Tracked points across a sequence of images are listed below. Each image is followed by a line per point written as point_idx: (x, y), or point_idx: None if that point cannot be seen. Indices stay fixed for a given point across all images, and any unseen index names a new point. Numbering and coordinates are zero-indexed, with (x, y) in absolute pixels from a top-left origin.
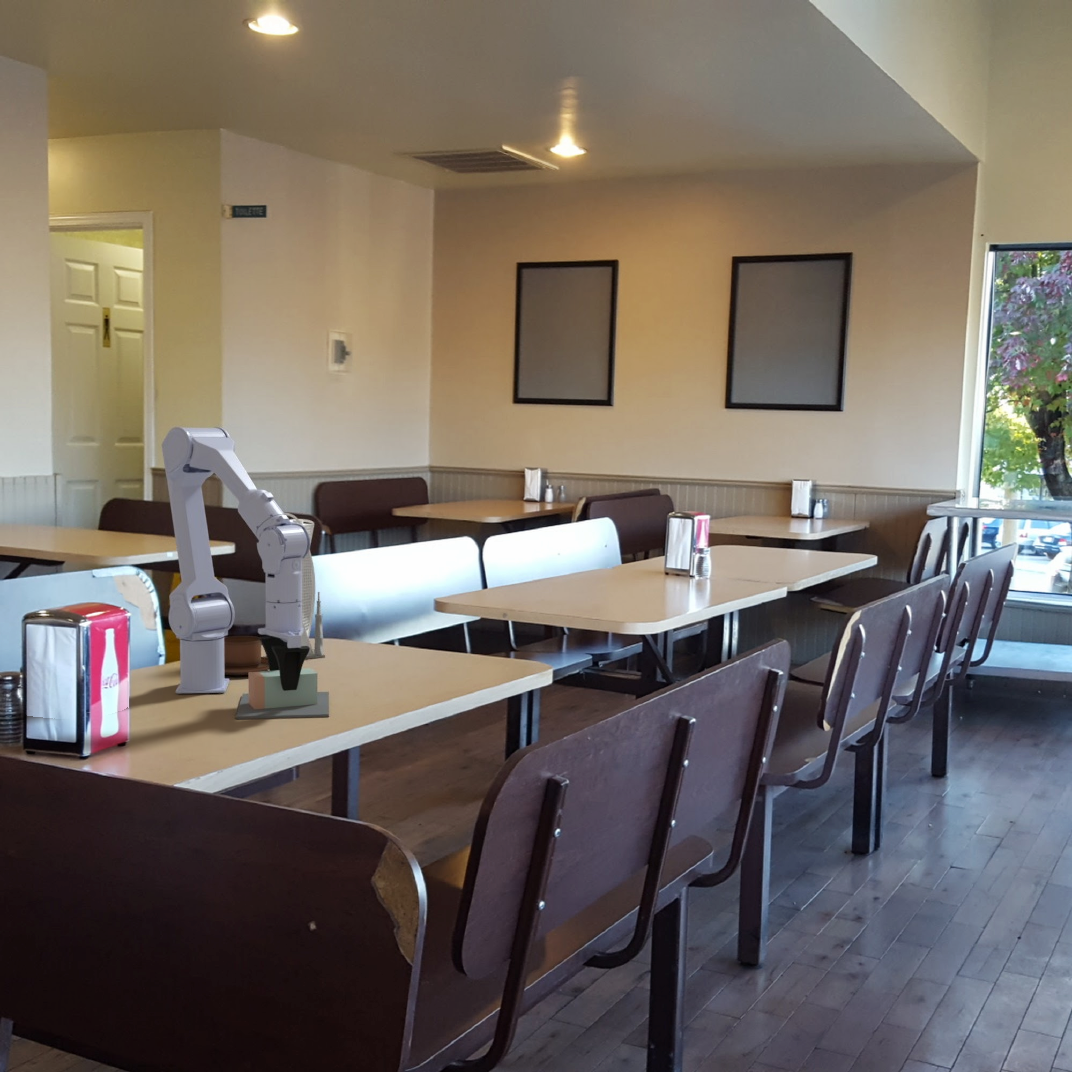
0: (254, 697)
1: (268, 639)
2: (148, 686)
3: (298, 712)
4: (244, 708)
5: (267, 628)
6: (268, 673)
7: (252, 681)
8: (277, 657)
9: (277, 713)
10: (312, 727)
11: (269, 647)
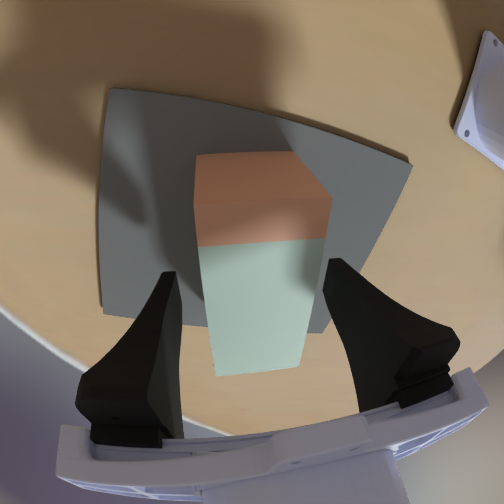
0: (196, 169)
1: (405, 370)
2: None
3: (126, 263)
4: (220, 125)
5: (291, 478)
6: (269, 267)
7: (237, 190)
8: (103, 362)
9: (121, 213)
10: (20, 268)
11: (385, 344)
